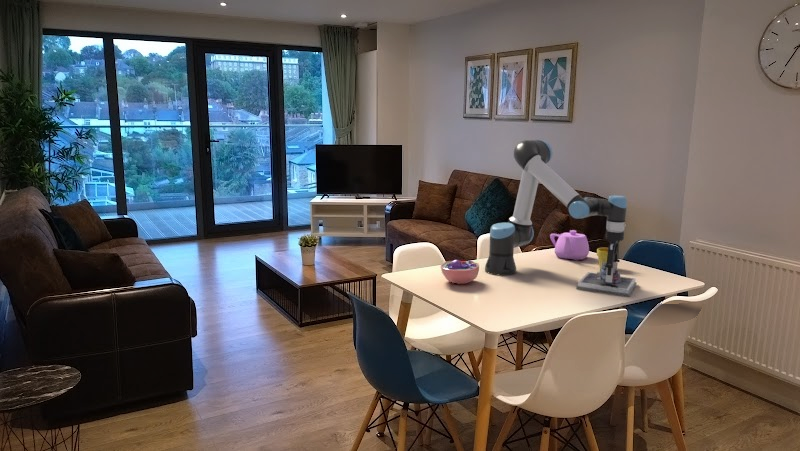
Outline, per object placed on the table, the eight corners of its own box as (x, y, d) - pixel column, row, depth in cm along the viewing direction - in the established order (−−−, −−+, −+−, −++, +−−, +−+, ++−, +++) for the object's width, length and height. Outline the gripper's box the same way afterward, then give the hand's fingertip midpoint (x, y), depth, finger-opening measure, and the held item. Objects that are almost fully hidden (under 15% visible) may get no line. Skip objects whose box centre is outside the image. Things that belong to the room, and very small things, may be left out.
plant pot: (607, 272, 280) (609, 252, 278) (591, 267, 288) (592, 248, 287) (621, 269, 285) (623, 250, 283) (605, 265, 294) (606, 246, 292)
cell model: (487, 281, 259) (488, 257, 257) (461, 290, 244) (462, 265, 242) (457, 274, 270) (458, 251, 268) (431, 283, 255) (432, 258, 253)
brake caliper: (628, 281, 246) (612, 258, 246) (605, 294, 249) (590, 272, 249) (624, 274, 256) (609, 253, 256) (603, 287, 260) (588, 266, 260)
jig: (576, 289, 249) (576, 282, 249) (586, 277, 268) (587, 271, 268) (629, 297, 239) (629, 290, 238) (636, 284, 258) (636, 278, 257)
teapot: (553, 251, 322) (554, 226, 320) (591, 256, 312) (593, 230, 309) (540, 259, 303) (542, 232, 301) (580, 265, 293) (583, 236, 290)
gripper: (619, 236, 237) (615, 286, 241) (628, 227, 257) (623, 274, 261) (601, 234, 240) (597, 283, 244) (610, 226, 260) (606, 272, 264)
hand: (611, 279), depth 253 cm, fingers closed on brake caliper, 11 cm apart
